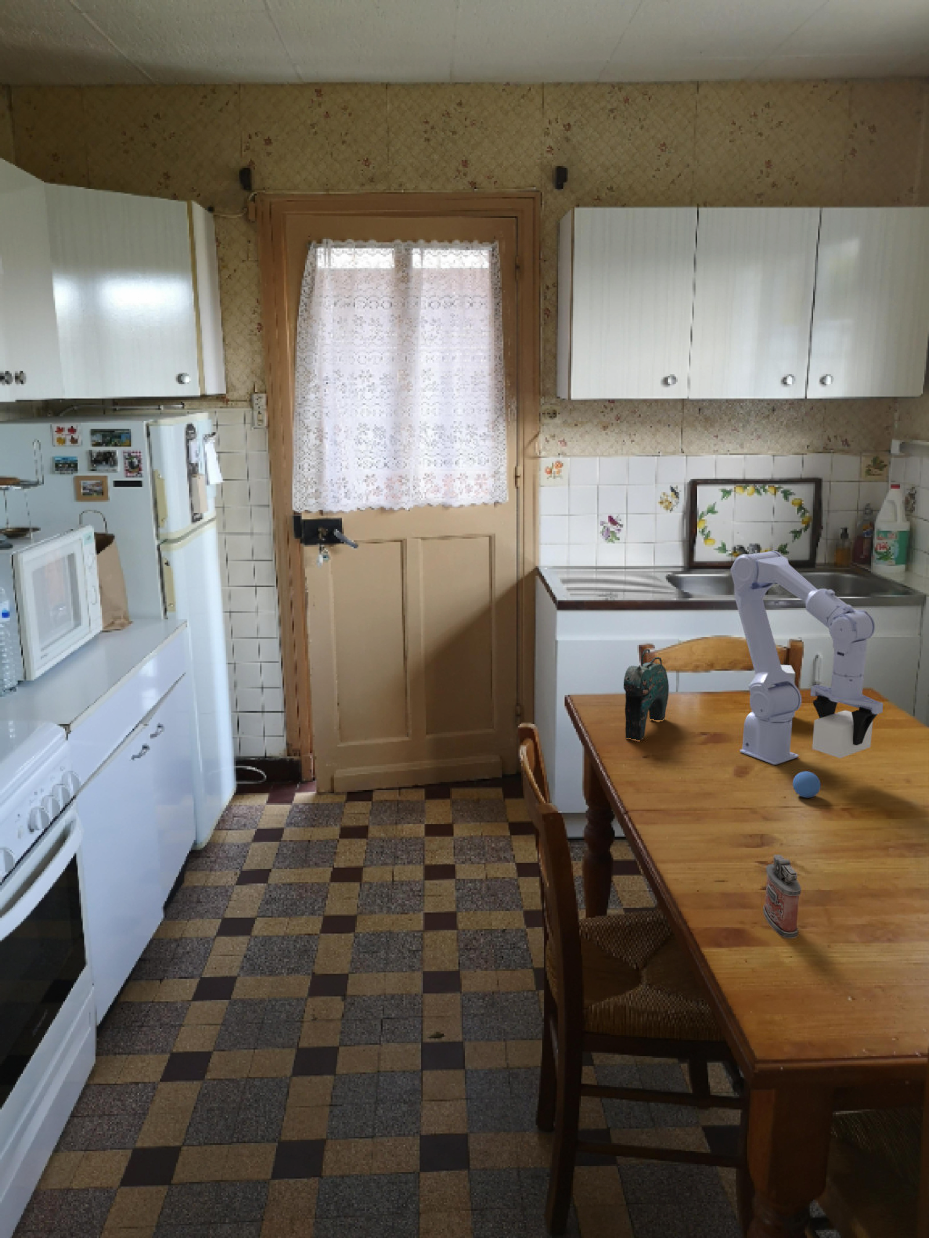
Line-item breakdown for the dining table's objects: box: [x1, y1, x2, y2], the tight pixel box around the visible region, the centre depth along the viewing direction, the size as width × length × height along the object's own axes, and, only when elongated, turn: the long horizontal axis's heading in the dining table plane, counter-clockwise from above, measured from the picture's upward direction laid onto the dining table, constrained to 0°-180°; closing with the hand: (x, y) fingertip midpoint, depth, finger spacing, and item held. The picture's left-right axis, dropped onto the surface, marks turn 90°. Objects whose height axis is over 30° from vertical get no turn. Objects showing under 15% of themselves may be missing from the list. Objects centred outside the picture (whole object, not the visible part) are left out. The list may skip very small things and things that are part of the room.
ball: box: [792, 770, 821, 799], centre depth 183 cm, size 5×5×5 cm
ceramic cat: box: [623, 648, 670, 741], centre depth 219 cm, size 20×6×20 cm, turn 148°
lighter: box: [762, 854, 802, 939], centre depth 139 cm, size 8×3×10 cm, turn 5°
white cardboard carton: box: [811, 709, 874, 759], centre depth 187 cm, size 10×6×6 cm, turn 125°
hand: (842, 738), depth 188 cm, fingers closed on white cardboard carton, 6 cm apart
